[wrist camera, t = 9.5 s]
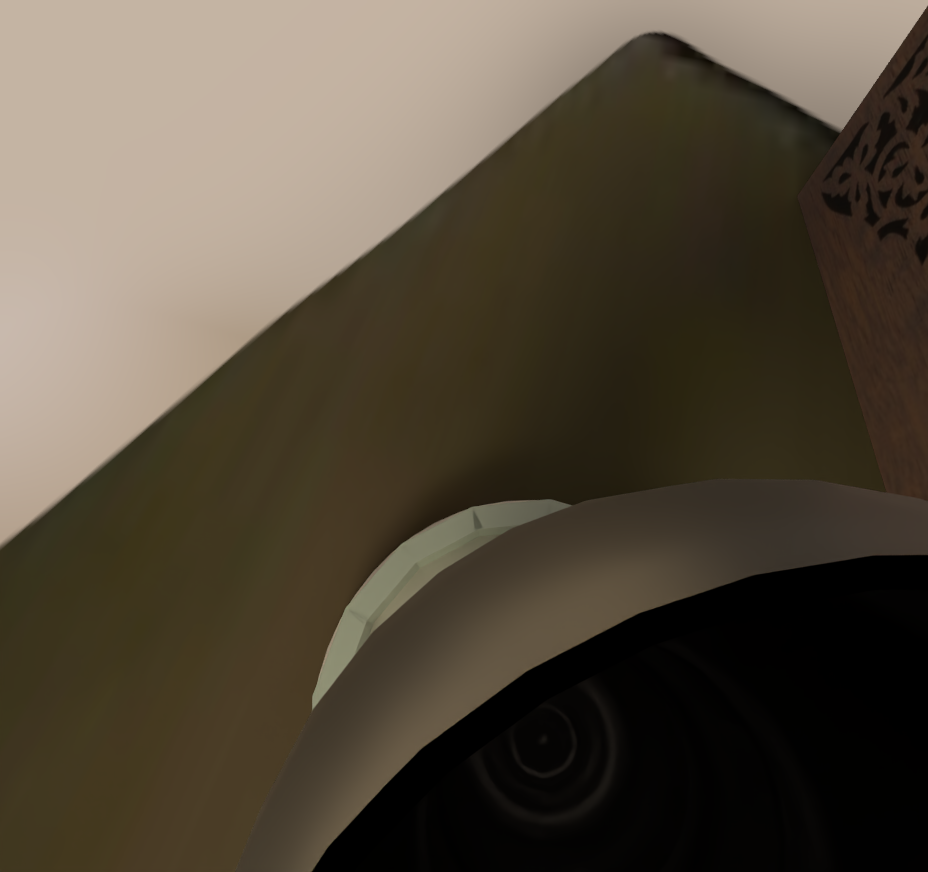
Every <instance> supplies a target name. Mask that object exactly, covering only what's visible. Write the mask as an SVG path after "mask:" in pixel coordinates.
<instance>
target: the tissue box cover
mask: <svg viewBox="0 0 928 872" xmlns="http://www.w3.org/2000/svg"><path fill="white" fill-rule="evenodd" d="M797 197H798V201H799V204H800V207H801V211H802V214H803V217H804V221H805V224H806V227H807V231H808V234H809V237H810V240H811V244H812V247H813V250H814V254H815V257H816V260H817V264H818V267H819V270H820V274H821V277H822V280H823V284H824V287H825V290H826V294H827V297H828V300H829V304H830V307H831V310H832V314H833V317H834V320H835V323H836V327H837V330H838V333H839V337H840V340H841V343H842V347H843V350H844V353H845V357H846V360H847V363H848V367H849V370H850V373H851V377H852V380H853V383H854V387H855V390H856V393H857V397H858V400H859V403H860V406H861V410H862V413H863V416H864V420H865V423H866V426H867V430H868V433H869V436H870V440H871V443H872V446H873V450H874V453H875V456H876V460H877V463H878V466H879V470H880V473H881V476H882V480H883V483H884V486H885V489H886V493H891V494H897V495H902V496H908V497H914V498H919V499H922V500H925V501H928V6H927V8H926V9H925V11H924V12H923V14H922V15H921V17H920V18H919V20H918V21H917V22H916V24H915V25H914V27H913V28H912V30H911V31H910V33H909V34H908V36H907V37H906V39H905V40H904V41H903V43H902V44H901V46H900V47H899V49H898V50H897V52H896V53H895V55H894V56H893V58H892V59H891V60H890V62H889V63H888V65H887V66H886V68H885V69H884V71H883V72H882V73H881V75H880V76H879V78H878V79H877V81H876V82H875V84H874V85H873V87H872V88H871V90H870V91H869V93H868V94H867V95H866V97H865V98H864V100H863V101H862V103H861V104H860V106H859V107H858V108H857V110H856V111H855V113H854V114H853V116H852V117H851V119H850V120H849V122H848V123H847V125H846V126H845V127H844V129H843V130H842V132H841V133H840V135H839V136H838V138H837V139H836V140H835V142H834V143H833V145H832V146H831V148H830V149H829V151H828V152H827V154H826V155H825V156H824V158H823V159H822V161H821V162H820V164H819V165H818V167H817V168H816V170H815V171H814V172H813V174H812V175H811V177H810V178H809V180H808V181H807V183H806V184H805V186H804V187H803V188H802V190H801V191H800V193H799V194H798V196H797Z"/></svg>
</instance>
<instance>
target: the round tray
mask: <svg viewBox="0 0 928 872" xmlns="http://www.w3.org/2000/svg"><path fill="white" fill-rule="evenodd" d="M570 506H573V505H569V504H565V503H562V502H558V501H555V500H551V499H546V500H522V501H505V502H499V503H493V504H486V505H481V506H474V507H471V508H469V509H467V510H465V511H461V512H458V513H456V514H454V515H451V516H449V517H447V518H445V519H442V520H440V521H438V522H436V523H434V524H432V525H430V526H429V527H427V528H425V529H424V530H422V531H420V532H419V533H417V534H416V535H414V536H412V537H411V538H410V539H409V540H407V541H406V542H404V543H402V544H401V545H400V546H399V547H398V548H397V549H396V550H395V551H393V552H392V553H391V554H390V555H389V556H388V557H387V558H386V559H385V560H384V561H383V562H382V563H381V564H380V565H379V566H378V567H377V568H376V569H375V570H374V571H373V572H372V574H371V575H370V576H369V577H368V579H367V580H366V581H365V583H364V584H363V585H362V587H361V588H360V589H359V590H358V592H357V593H356V594H355V596H354V598H353V599H352V601H351V602H350V604H349V605H348V606H347V607H346V608H345V611H344V614H343V616H342V618H341V619H340V622H339V624H338V626H337V628H336V631H335V633H334V635H333V637H332V640H331V642H330V644H329V646H328V649H327V652H326V656H325V659H324V662H323V665H322V668H321V672H320V675H319V679H318V683H317V686H316V688H315V691H314V694H313V699H312V710H313V709H314V707H315V706H316V705H317V704H318V702H319V701H320V700H321V698H322V697H323V696H324V694H325V693H326V692H327V691H328V689H329V688H330V687H331V685H332V684H333V683H334V682H335V680H336V679H337V678H338V676H339V675H340V674H341V672H342V671H343V670H344V669H345V667H346V666H347V665H348V663H349V662H350V661H351V659H352V658H353V657H354V656H355V654H356V653H357V652H358V650H359V649H360V648H361V647H362V645H363V644H364V643H365V641H366V640H367V639H368V637H369V636H370V635H371V634H372V632H373V631H374V630H375V629H377V628H378V627H379V626H380V625H381V624H382V623H383V622H384V621H385V620H387V619H388V618H389V617H390V616H391V615H392V614H393V613H394V612H395V611H397V610H398V609H399V608H400V607H401V606H402V605H403V604H404V603H405V602H406V601H408V600H409V599H410V598H411V597H412V596H413V595H414V594H415V593H416V592H418V591H419V590H420V589H421V588H422V587H423V586H424V585H425V584H426V583H428V582H429V581H430V580H431V579H432V578H433V577H434V576H435V575H436V574H438V573H439V572H440V571H442V570H443V569H445V568H447V567H448V566H450V565H452V564H453V563H455V562H457V561H458V560H460V559H461V558H463V557H465V556H466V555H468V554H470V553H471V552H473V551H475V550H476V549H478V548H480V547H481V546H483V545H484V544H486V543H488V542H489V541H491V540H493V539H494V538H496V537H498V536H499V535H501V534H502V533H504V532H506V531H507V530H509V529H511V528H514V527H516V526H519V525H522V524H524V523H527V522H530V521H532V520H535V519H538V518H540V517H543V516H546V515H548V514H551V513H554V512H557V511H559V510H562V509H565V508H567V507H570Z"/></svg>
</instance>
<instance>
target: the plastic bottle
mask: <svg viewBox="0 0 928 872" xmlns="http://www.w3.org/2000/svg"><path fill="white" fill-rule="evenodd" d="M235 872H928V501H925V500H922V499H919V498H914V497H908V496H902V495H897V494H891V493H886V492H880V491H875V490H869V489H863V488H858V487H852V486H847V485H841V484H835V483H830V482H824V481H819V480H779V479H712V480H706V481H700V482H693V483H687V484H681V485H674V486H668V487H662V488H656V489H650V490H644V491H638V492H633V493H627V494H621V495H615V496H609V497H603V498H597V499H592V500H586V501H583V502H581V503H578V504H575V505H573V506H570V507H567V508H565V509H562V510H559V511H557V512H554V513H551V514H548V515H546V516H543V517H540V518H538V519H535V520H532V521H530V522H527V523H524V524H522V525H519V526H516V527H514V528H511V529H509V530H507V531H506V532H504V533H502V534H501V535H499V536H498V537H496V538H494V539H493V540H491V541H489V542H488V543H486V544H484V545H483V546H481V547H480V548H478V549H476V550H475V551H473V552H471V553H470V554H468V555H466V556H465V557H463V558H461V559H460V560H458V561H457V562H455V563H453V564H452V565H450V566H448V567H447V568H445V569H443V570H442V571H440V572H439V573H438V574H436V575H435V576H434V577H433V578H432V579H431V580H430V581H429V582H428V583H426V584H425V585H424V586H423V587H422V588H421V589H420V590H419V591H418V592H416V593H415V594H414V595H413V596H412V597H411V598H410V599H409V600H408V601H406V602H405V603H404V604H403V605H402V606H401V607H400V608H399V609H398V610H397V611H395V612H394V613H393V614H392V615H391V616H390V617H389V618H388V619H387V620H385V621H384V622H383V623H382V624H381V625H380V626H379V627H378V628H377V629H375V630H374V631H373V632H372V634H371V635H370V636H369V637H368V639H367V640H366V641H365V643H364V644H363V645H362V647H361V648H360V649H359V650H358V652H357V653H356V654H355V656H354V657H353V658H352V659H351V661H350V662H349V663H348V665H347V666H346V667H345V669H344V670H343V671H342V672H341V674H340V675H339V676H338V678H337V679H336V680H335V682H334V683H333V684H332V685H331V687H330V688H329V689H328V691H327V692H326V693H325V694H324V696H323V697H322V698H321V700H320V701H319V702H318V704H317V705H316V706H315V707H314V709H313V710H312V712H311V714H310V716H309V718H308V720H307V722H306V724H305V726H304V727H303V729H302V731H301V733H300V735H299V737H298V739H297V741H296V742H295V744H294V746H293V748H292V750H291V752H290V754H289V756H288V758H287V759H286V761H285V763H284V765H283V767H282V769H281V771H280V773H279V774H278V776H277V778H276V780H275V782H274V784H273V786H272V788H271V790H270V791H269V793H268V795H267V797H266V799H265V801H264V803H263V805H262V807H261V809H260V812H259V814H258V817H257V819H256V821H255V824H254V826H253V829H252V831H251V834H250V836H249V839H248V841H247V843H246V846H245V848H244V851H243V853H242V856H241V858H240V861H239V863H238V866H237V869H236V871H235Z"/></svg>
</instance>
